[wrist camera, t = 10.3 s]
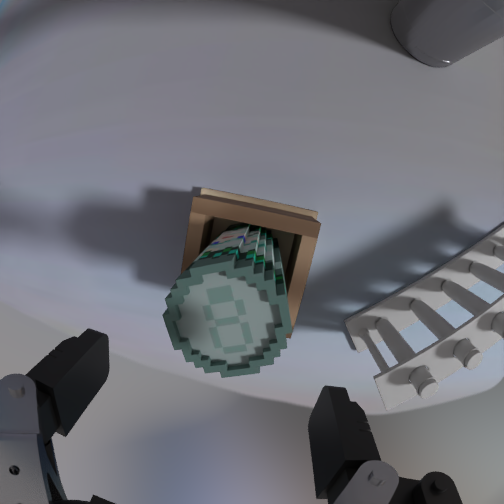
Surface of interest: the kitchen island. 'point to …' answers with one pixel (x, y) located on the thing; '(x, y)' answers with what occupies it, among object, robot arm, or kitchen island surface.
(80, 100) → the kitchen island surface
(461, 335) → the test tube rack
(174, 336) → the can
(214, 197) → the sleeve holder
